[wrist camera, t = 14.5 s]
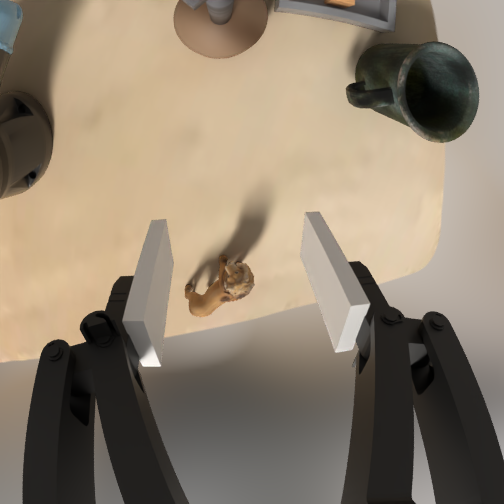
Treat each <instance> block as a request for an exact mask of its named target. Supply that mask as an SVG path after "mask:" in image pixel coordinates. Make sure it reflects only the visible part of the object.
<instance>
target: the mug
mask: <svg viewBox="0 0 504 504" xmlns="http://www.w3.org/2000/svg"><path fill="white" fill-rule="evenodd" d="M355 80H356V83H352V84H350V85H348V86H347V87H346V94H347V98H348V101H349V103H350V104H352V105H353V106H355V107H358V108H371V109H373V110H374V111H376V112H378V113H380V114H383V115H385V116H387V117H389V118H392V119H394V120H396V121H398V122H400V123H402V124H404V125H407V126H409V127H411V129H412V130H413V131H414V132H415V133H416V134H418V135H419V136H421V137H422V138H424V139H426V140H428V141H432V142H438V143H444V142H449V141H452V140H455V139H456V138H458V137H460V136H461V135H462V134H464V133H465V132H466V130H467V129H468V128H469V127H470V125H471V124H472V122H473V120H474V118H475V115H476V112H477V109H478V103H479V87H478V82H477V78H476V75H475V72H474V70H473V68H472V66H471V64H470V63H469V61H468V60H467V59H466V57H465V56H464V55H463V54H462V53H461V52H459V51H458V50H457V49H455V48H454V47H452V46H450V45H448V44H445V43H442V42H427V43H424V44H421V45H418V44H379V45H376V46H373V47H371V48H370V49H368V50H367V51H366V52H365V53H364V54H363V55H362V57H361V58H360V60H359V62H358V64H357V67H356V73H355Z"/></svg>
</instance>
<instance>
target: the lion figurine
mask: <svg viewBox="0 0 504 504" xmlns="http://www.w3.org/2000/svg"><path fill="white" fill-rule="evenodd" d="M219 264H220V269H219V280H217V281H216V282H214V283H213V284H212V285H211V286H210V287H209V288H208V289H207V291H206V293H205V294H204V295H200V294H198V293H196V292H190V291H192V289H193V288H192V286H190V285H187V286H186V287H185V298H186V299H188V300H189V310H190V313H191V314H192V315H194V316H199V317H205V316H208V315H210V314H211V313H212V312H213V311H214V310H215V309H216V308H218V307H219V306H220V305H222V304H224V303H225V302H230V301H234V300H236V301H237V300H238V299H242V298H243V297H245V296H246V295H248V294H249V293H250V291H251V289H252V288H253V286H254V276H253V274H252V272H251V270H250V268H249V266H248V265H247V264H246V263H245V264H244V263H240V262H237V263H234V262H233V261H232V262H230V263H229V264H228V265H227V257H226V256H224V255H223V256H220V257H219Z"/></svg>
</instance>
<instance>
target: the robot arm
mask: <svg viewBox="0 0 504 504" xmlns="http://www.w3.org/2000/svg"><path fill="white" fill-rule="evenodd" d="M22 19H23V11H22V9H21V7H20V5H18V4H17V3H15V2H13V1H10V0H0V85H1V82H2V78H3V75H4V72H5V69H6V66H7V63H8V60H9V57H10V55H11V54H12V53H13V45H14V42H15V39H16V36H17V33H18V30H19V28H20V25H21V23H22ZM51 153H52V132H51V127H50V123H49V120H48V117H47V115H46V113H45V111H44V109H43V108H42V106H41V105H40V104H39V103H38V102H37V100H35V99H34V98H33V97H32V96H30V95H28V94H26V93H23V92H19V91H12V92H8V93H5V94H2V95H0V199H3V198H7V197H10V196H14V195H17V194H20V193H23V192H25V191H26V190H28V189H29V188H30V187H32V186H33V185H34V184H35V183H36V182H37V181H38V180H39V179H40V178H41V177H42V176H43V174H44V173H45V171H46V169H47V167H48V164H49V161H50V158H51ZM300 257H301V259H302V262H303V264H304V267H305V270H306V272H307V275H308V278H309V280H310V283H311V286H312V289H313V291H314V294H315V297H316V300H317V302H318V305H319V308H320V311H321V313H322V316H323V319H324V322H325V325H326V327H327V330H328V333H329V336H330V339H331V342H332V345H333V348H334V351H335V352H343V351H348V350H352V349H353V347H354V344H355V342H356V343H357V345H358V348H359V351H358V353H357V355H356V357H355V360H354V362H353V365H352V367H355V365H356V379H355V395H354V408H353V419H352V429H351V439H350V448H349V455H348V462H347V470H346V476H345V483H344V490H343V495H342V500H341V504H416V503H415V502H414V501H413V500H412V495H411V494H412V479H413V458H414V412H413V405H414V408H415V412H416V415H417V419H418V423H419V427H420V431H421V435H422V439H423V442H424V447H425V451H426V456H427V460H428V464H429V469H430V474H431V479H432V484H433V489H434V495H435V501H436V504H504V460H503V456H502V453H501V449H500V446H499V442H498V439H497V436H496V433H495V429H494V426H493V423H492V421H491V417H490V414H489V412H488V409H487V406H486V403H485V401H484V398H483V395H482V393H481V391H480V388H479V386H478V383H477V380H476V378H475V376H474V373H473V371H472V369H471V366H470V364H469V362H468V359H467V357H466V355H465V353H464V351H463V348H462V346H461V345H460V342H459V340H458V338H457V336H456V334H455V332H454V330H453V328H452V326H451V324H450V322H449V320H448V319H447V318H446V317H445V316H444V315H443V314H440V313H438V312H428V313H426V314H425V315H424V317H423V318H422V320H419V319H411V318H405V317H404V315H403V314H402V313H401V312H400V311H399V310H398V309H396V308H394V307H390V306H389V305H388V303H387V301H386V299H385V297H384V296H383V294H382V292H381V291H380V289H379V287H378V285H377V284H376V282H375V280H374V278H373V277H372V275H371V273H370V272H369V270H368V268H367V267H366V266H364V265H363V264H362V263H361V262H360V261H355V262H348V261H347V259H346V257H345V255H344V254H343V252H342V250H341V248H340V246H339V245H338V243H337V241H336V239H335V238H334V236H333V234H332V232H331V231H330V229H329V227H328V226H327V224H326V222H325V220H324V219H323V217H322V215H321V214H320V212H305V218H304V227H303V236H302V245H301V253H300ZM173 265H174V262H173V256H172V250H171V245H170V239H169V233H168V227H167V221H166V219H163V220H152V221H151V224H150V227H149V230H148V233H147V236H146V239H145V242H144V245H143V248H142V251H141V255H140V258H139V261H138V265H137V268H136V271H135V275H134V276H120V278H119V279H118V280H117V281H116V282H115V283H114V285H113V288H112V291H111V295H110V297H109V300H108V303H107V306H106V309H105V311H102V310H101V311H95V312H92V313H90V314H88V315H87V316H86V317H85V318H84V319H83V321H82V322H81V324H80V331H81V333H82V334H83V336H84V338H85V340H86V341H87V342H84V343H81V344H77V345H74V346H69V345H68V343H67V342H65V341H64V340H59V339H58V340H53V341H51V342H50V343H48V344H47V345H46V346H45V347H44V348H43V350H42V353H41V356H40V361H39V365H38V369H37V374H36V378H35V383H34V388H33V393H32V399H31V404H30V411H29V417H28V424H27V432H26V442H25V452H24V465H23V504H96V502H95V485H94V418H95V400H97V405H98V410H99V414H100V419H101V424H102V429H103V433H104V437H105V441H106V444H107V449H108V452H109V456H110V460H111V463H112V466H113V470H114V473H115V476H116V480H117V483H118V486H119V489H120V492H121V494H122V497H123V500H124V503H125V504H189V502H188V500H187V498H186V496H185V494H184V491H183V489H182V487H181V485H180V483H179V480H178V478H177V476H176V473H175V471H174V469H173V466H172V464H171V462H170V459H169V456H168V454H167V451H166V449H165V446H164V443H163V441H162V438H161V435H160V433H159V430H158V427H157V424H156V421H155V419H154V416H153V413H152V410H151V407H150V404H149V401H148V397H147V394H146V391H145V388H144V384H143V381H142V377H141V374H140V372H139V370H138V364H139V360H140V362H141V364H142V366H161V361H162V351H163V341H164V332H165V324H166V315H167V307H168V300H169V292H170V285H171V278H172V272H173Z"/></svg>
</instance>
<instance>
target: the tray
mask: <svg viewBox="0 0 504 504" xmlns="http://www.w3.org/2000/svg"><path fill="white" fill-rule="evenodd" d="M324 1H325V0H275V10H274V11H275V12H284V13H292V14H300V15H306V16H313V17H319V18H324V19H329V20H334V21H339V22H344V23H348V24H352V25H357V26H361V27H364V28H368V29H372V30H375V31H379V32H382V33H386V32H395V19H396V0H355V5H353V6H350V7H347V8H341V7H337V6H332V5H327V4H324Z"/></svg>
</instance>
